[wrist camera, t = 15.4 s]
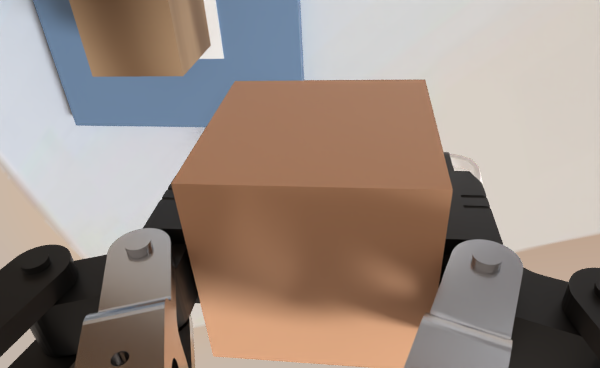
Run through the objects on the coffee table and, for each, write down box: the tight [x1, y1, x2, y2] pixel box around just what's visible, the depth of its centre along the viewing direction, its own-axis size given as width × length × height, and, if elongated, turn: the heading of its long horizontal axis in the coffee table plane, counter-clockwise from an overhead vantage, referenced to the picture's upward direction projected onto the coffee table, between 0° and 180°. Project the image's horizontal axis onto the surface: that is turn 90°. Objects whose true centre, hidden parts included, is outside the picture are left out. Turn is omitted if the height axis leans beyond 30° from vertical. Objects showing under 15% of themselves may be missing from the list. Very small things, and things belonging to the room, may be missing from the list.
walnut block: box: [69, 0, 211, 77], centre depth 26 cm, size 5×5×5 cm
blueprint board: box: [33, 0, 304, 127], centre depth 28 cm, size 16×16×1 cm
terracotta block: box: [171, 80, 453, 368], centre depth 12 cm, size 5×5×5 cm
